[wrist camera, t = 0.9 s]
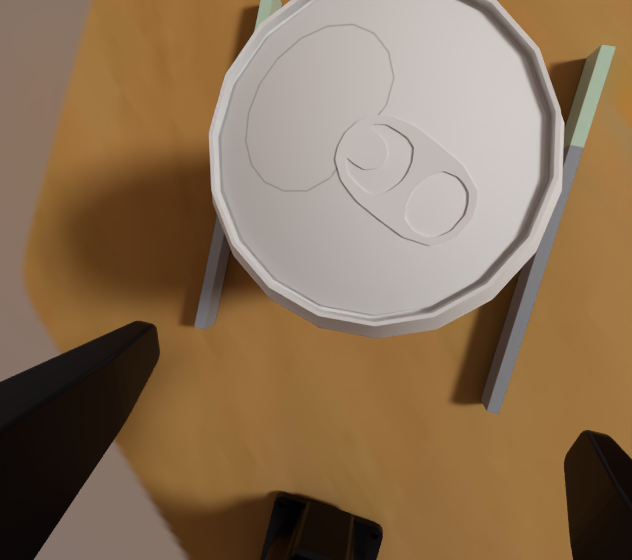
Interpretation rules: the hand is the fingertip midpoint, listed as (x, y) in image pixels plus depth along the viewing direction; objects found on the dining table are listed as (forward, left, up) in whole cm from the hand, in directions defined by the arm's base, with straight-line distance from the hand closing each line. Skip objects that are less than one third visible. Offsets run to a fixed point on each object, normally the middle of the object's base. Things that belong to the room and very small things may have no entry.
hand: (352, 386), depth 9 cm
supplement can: (+5, +1, -15) cm, 16 cm away
